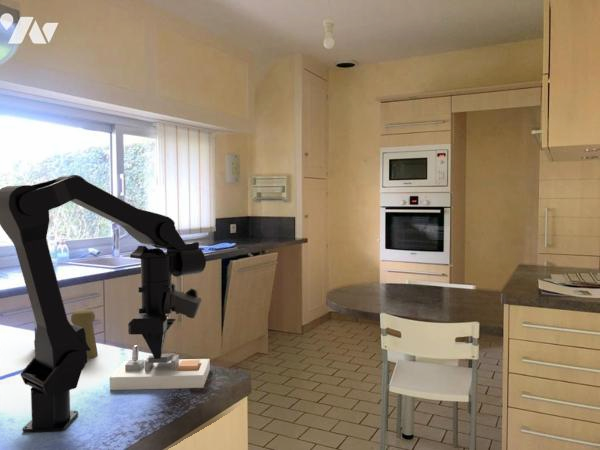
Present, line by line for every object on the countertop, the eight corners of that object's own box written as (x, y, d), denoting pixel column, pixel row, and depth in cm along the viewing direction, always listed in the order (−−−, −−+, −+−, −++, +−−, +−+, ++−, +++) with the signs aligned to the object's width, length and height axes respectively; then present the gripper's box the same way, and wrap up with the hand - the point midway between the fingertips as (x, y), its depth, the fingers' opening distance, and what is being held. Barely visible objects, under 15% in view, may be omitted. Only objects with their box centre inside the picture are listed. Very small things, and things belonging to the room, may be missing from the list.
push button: (197, 380, 100) (196, 365, 100) (179, 380, 100) (178, 366, 100) (199, 374, 104) (199, 360, 104) (182, 374, 104) (182, 360, 104)
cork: (102, 352, 120) (101, 307, 120) (89, 360, 114) (88, 313, 114) (78, 351, 121) (77, 307, 120) (64, 359, 115) (63, 312, 114)
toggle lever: (137, 361, 101) (138, 345, 102) (131, 361, 101) (132, 345, 102) (138, 361, 102) (139, 345, 103) (132, 361, 102) (133, 345, 103)
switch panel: (203, 387, 97) (203, 365, 97) (109, 390, 96) (109, 367, 96) (209, 370, 107) (209, 349, 107) (125, 372, 106) (124, 351, 106)
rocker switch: (166, 362, 98) (166, 356, 98) (148, 363, 97) (148, 356, 98) (174, 358, 105) (174, 352, 106) (157, 358, 105) (157, 353, 105)
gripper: (190, 287, 88) (191, 373, 89) (204, 272, 107) (205, 343, 108) (126, 288, 88) (128, 375, 88) (151, 273, 106) (153, 344, 107)
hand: (157, 358), depth 98 cm, fingers closed, pressing on rocker switch
